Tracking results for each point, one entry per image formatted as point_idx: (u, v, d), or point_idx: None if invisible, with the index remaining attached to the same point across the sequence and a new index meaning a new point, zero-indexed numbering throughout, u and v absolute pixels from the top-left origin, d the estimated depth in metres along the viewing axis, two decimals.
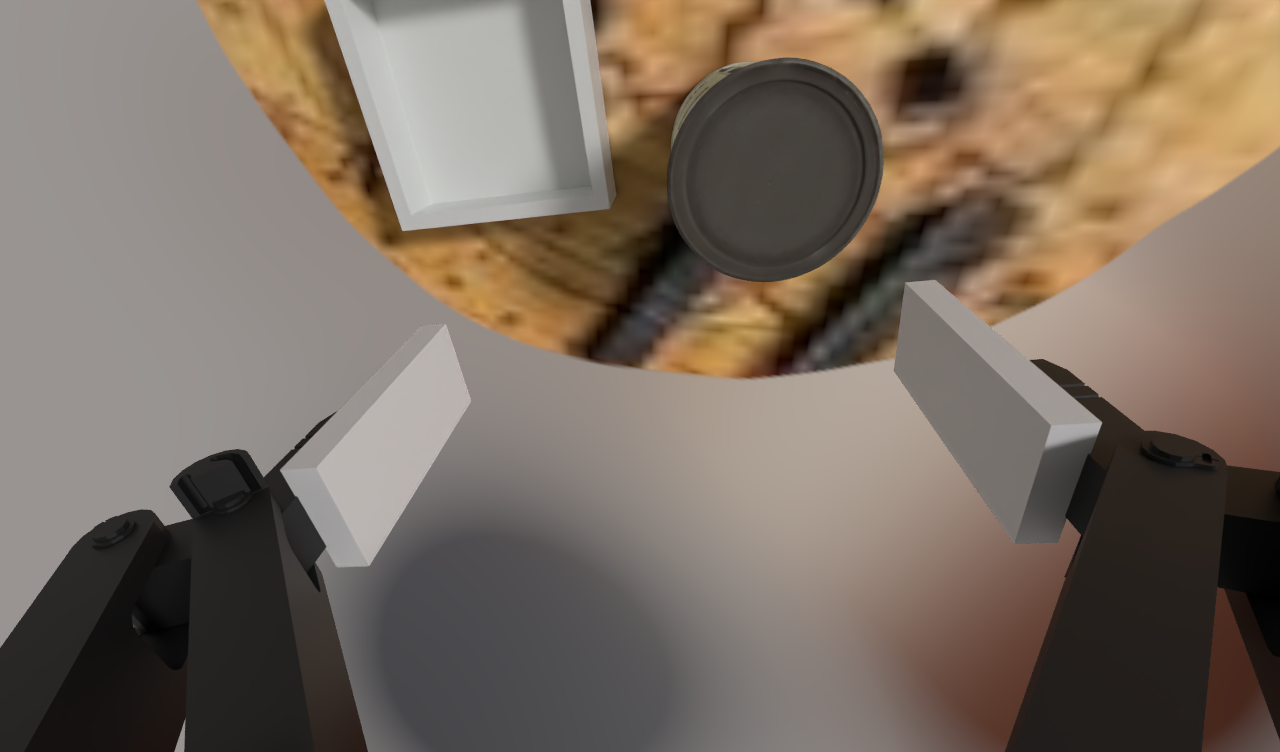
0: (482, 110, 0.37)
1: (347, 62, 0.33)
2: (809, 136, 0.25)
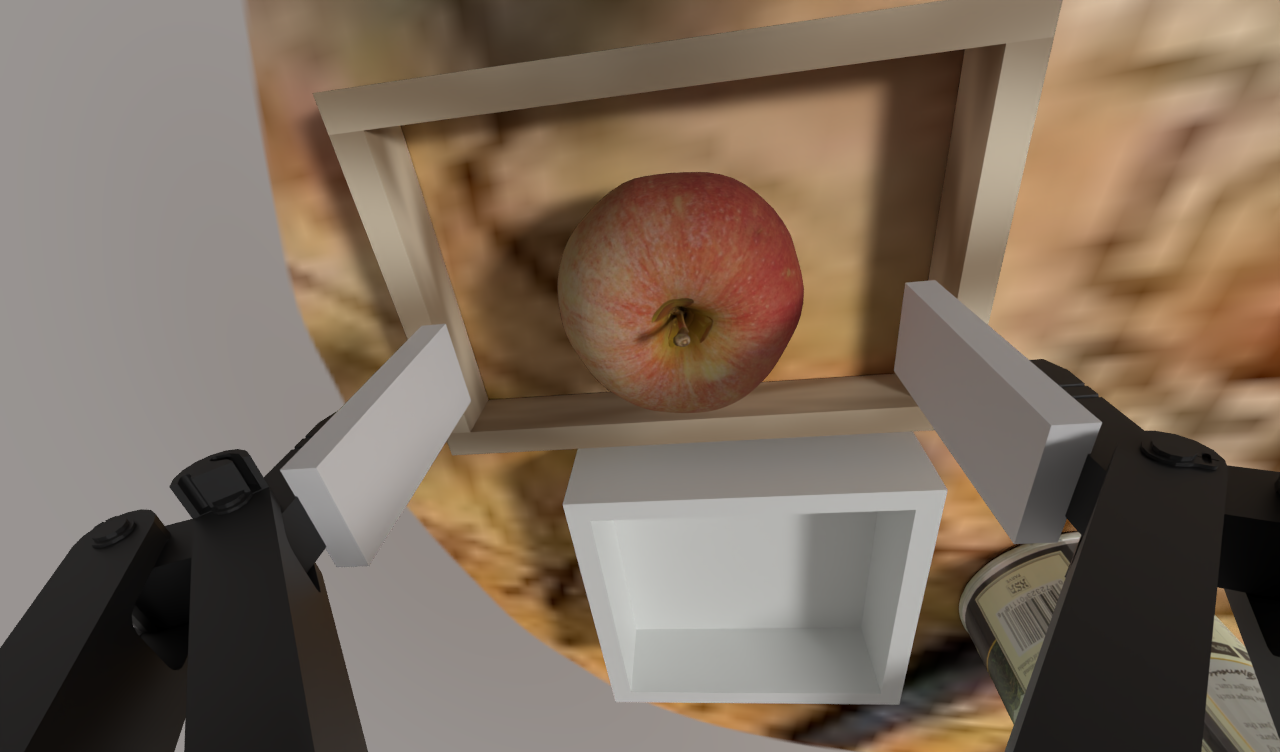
0: (726, 562, 0.29)
1: (584, 577, 0.25)
2: None
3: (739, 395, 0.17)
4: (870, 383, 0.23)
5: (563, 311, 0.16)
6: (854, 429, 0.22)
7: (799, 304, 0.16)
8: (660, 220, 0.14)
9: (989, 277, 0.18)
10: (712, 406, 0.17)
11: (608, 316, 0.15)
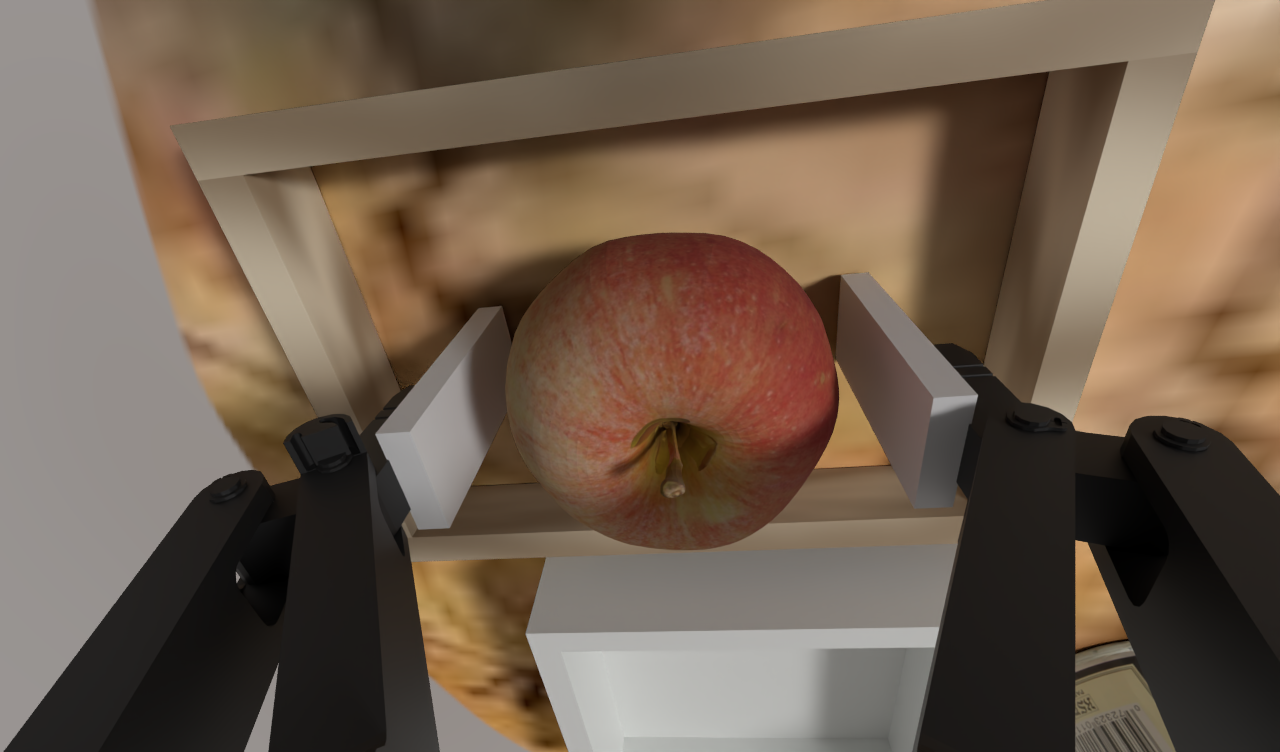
0: (729, 670, 0.24)
1: (556, 710, 0.20)
2: None
3: (752, 533, 0.12)
4: None
5: (510, 423, 0.12)
6: (893, 539, 0.17)
7: (835, 415, 0.12)
8: (642, 312, 0.10)
9: (1079, 365, 0.14)
10: (715, 547, 0.13)
11: (568, 444, 0.11)
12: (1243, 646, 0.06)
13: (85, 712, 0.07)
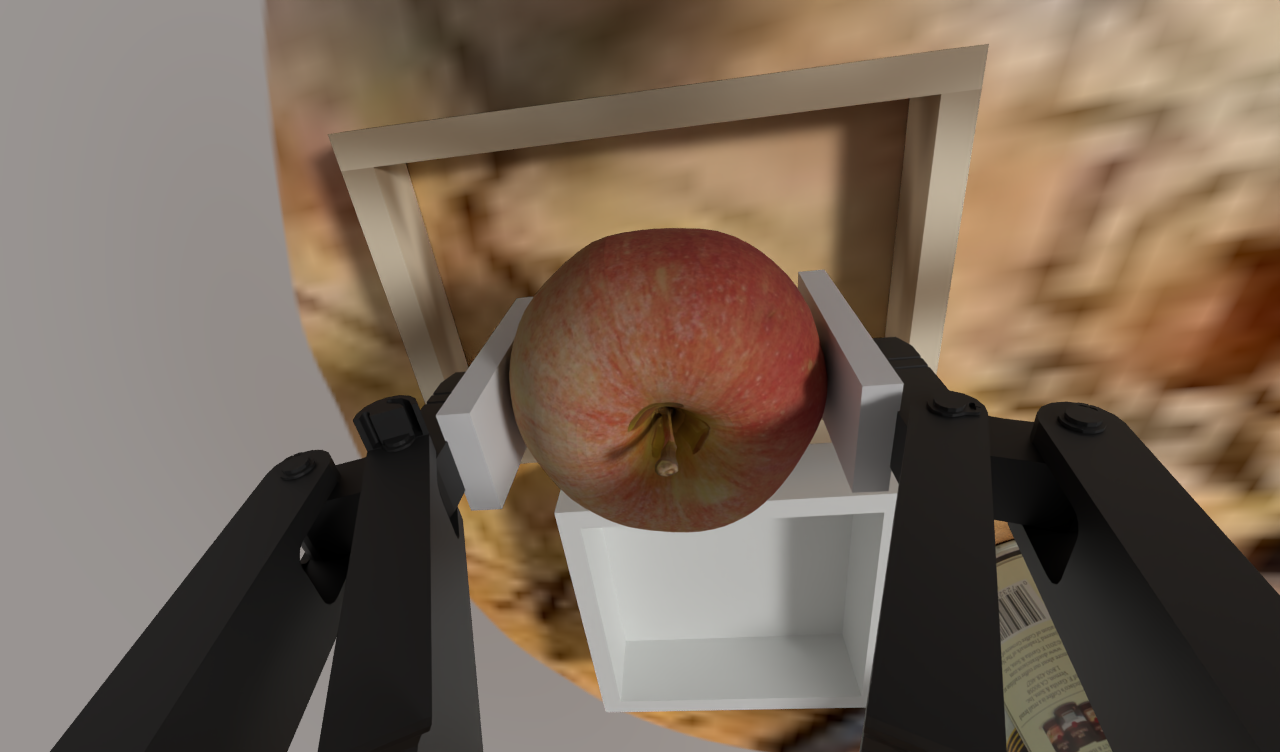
0: (711, 571, 0.30)
1: (575, 585, 0.26)
2: None
3: (745, 515, 0.13)
4: None
5: (514, 409, 0.13)
6: (826, 437, 0.23)
7: (823, 401, 0.12)
8: (637, 302, 0.11)
9: (940, 296, 0.20)
10: (710, 529, 0.13)
11: (569, 427, 0.11)
12: (1148, 616, 0.06)
13: (155, 678, 0.07)
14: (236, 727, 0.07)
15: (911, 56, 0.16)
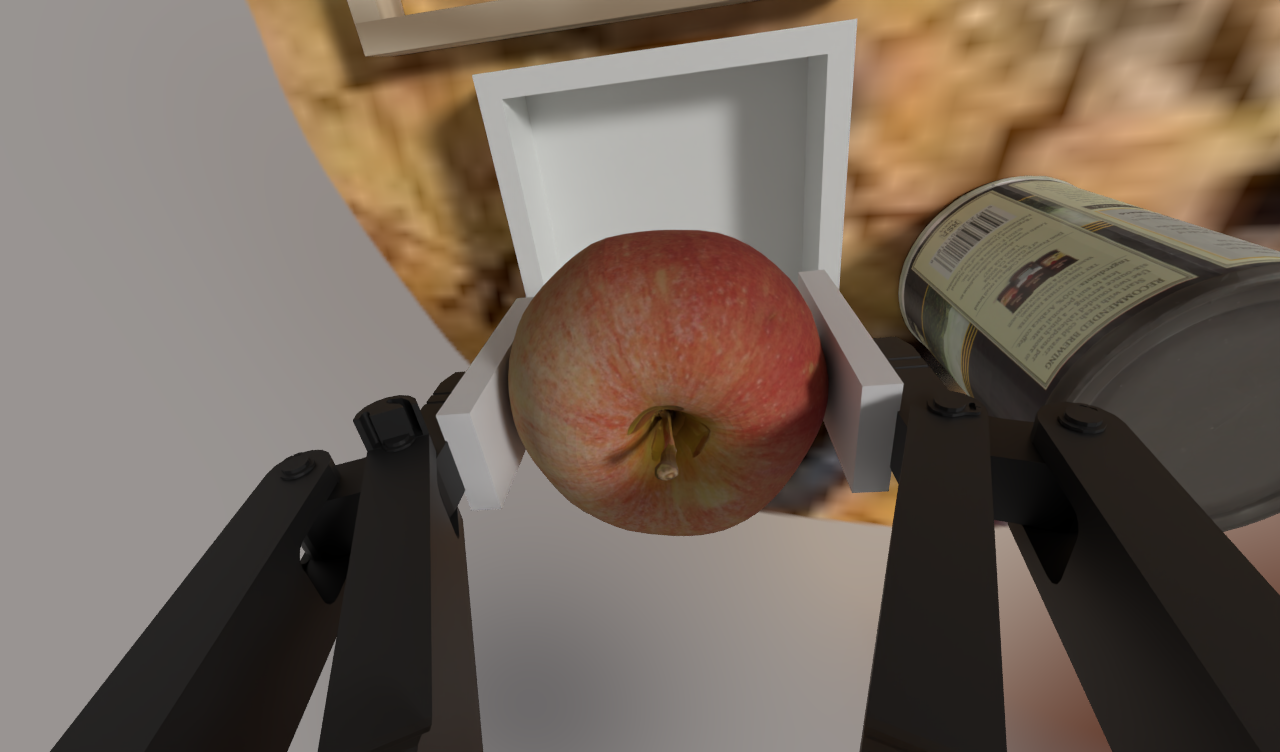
0: None
1: (503, 191, 0.24)
2: None
3: (745, 518, 0.13)
4: None
5: (513, 412, 0.12)
6: None
7: (824, 404, 0.12)
8: (636, 304, 0.10)
9: None
10: (710, 532, 0.13)
11: (567, 431, 0.11)
12: (1148, 616, 0.06)
13: (156, 678, 0.07)
14: (236, 727, 0.07)
15: None
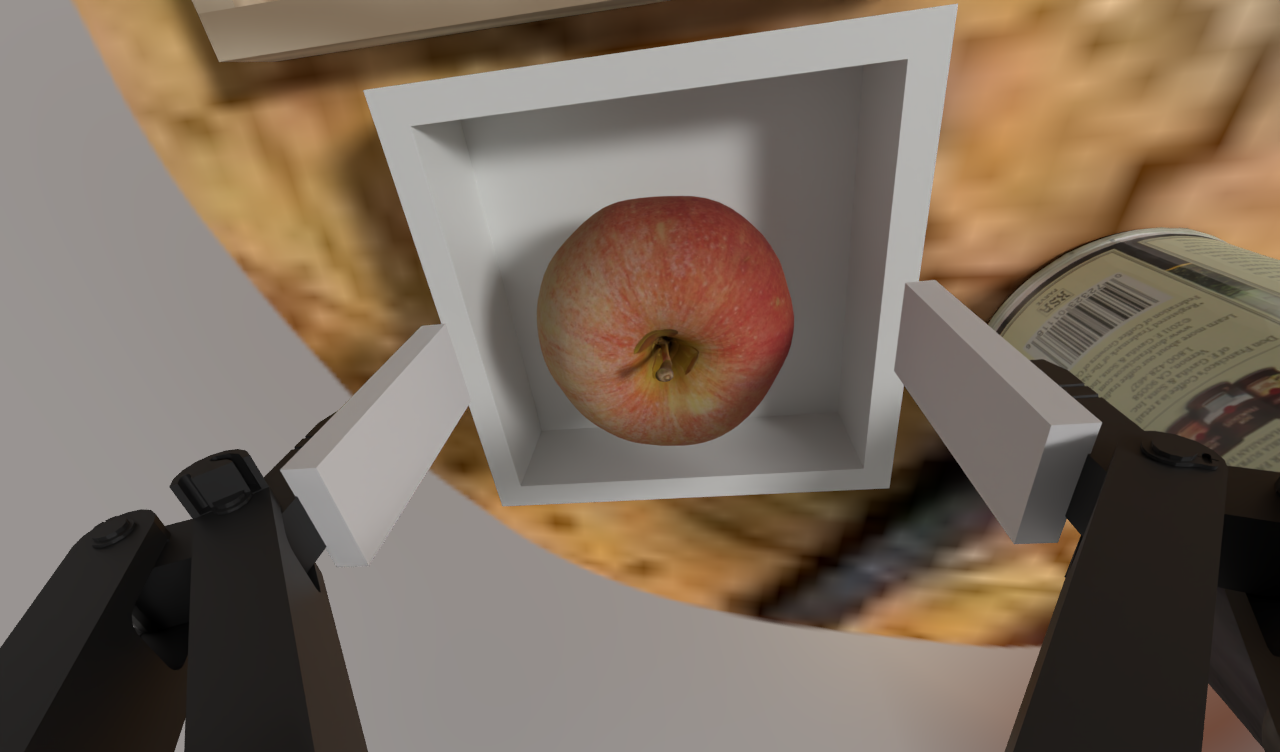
0: None
1: (422, 255, 0.17)
2: None
3: (727, 428, 0.16)
4: None
5: (542, 341, 0.16)
6: None
7: (789, 334, 0.15)
8: (642, 248, 0.14)
9: None
10: (699, 440, 0.16)
11: (587, 348, 0.14)
12: None
13: None
14: None
15: None
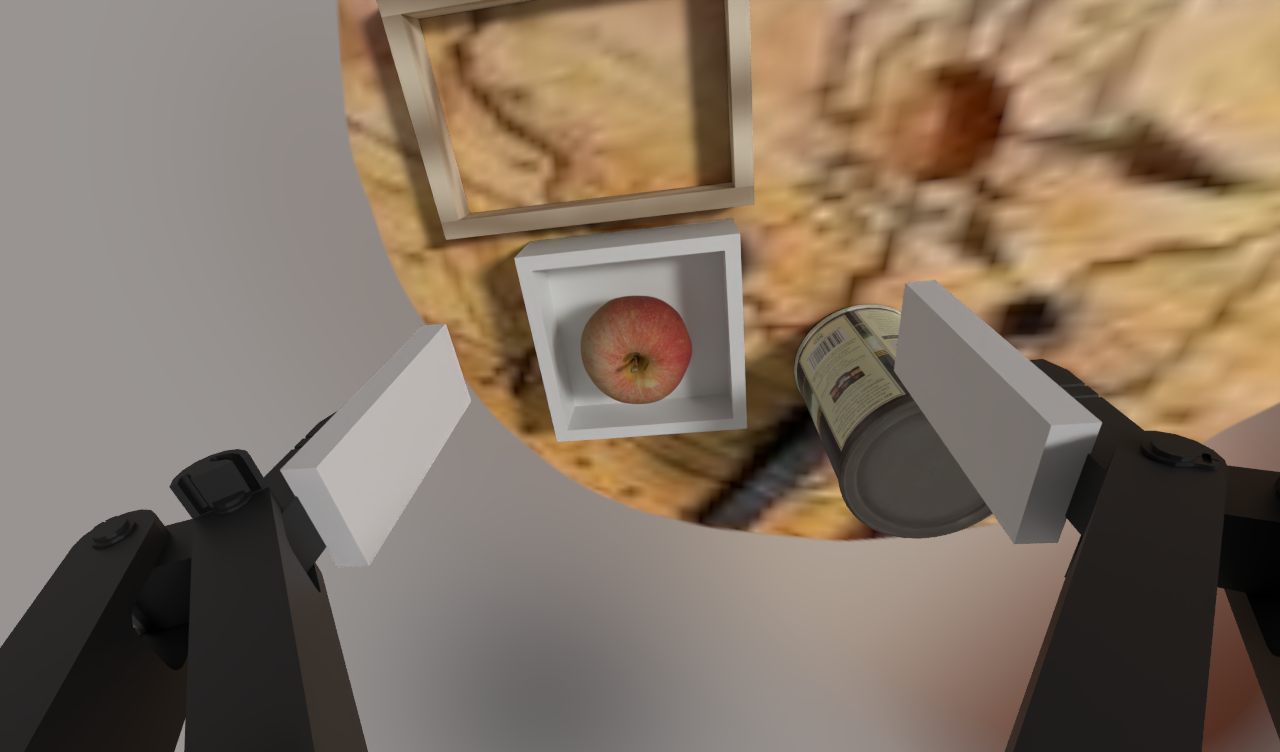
0: None
1: (530, 320, 0.38)
2: None
3: (663, 394, 0.37)
4: (703, 187, 0.37)
5: (583, 357, 0.37)
6: (690, 207, 0.36)
7: (687, 354, 0.37)
8: (625, 321, 0.35)
9: (747, 97, 0.33)
10: (651, 399, 0.38)
11: (603, 360, 0.36)
12: None
13: None
14: None
15: None
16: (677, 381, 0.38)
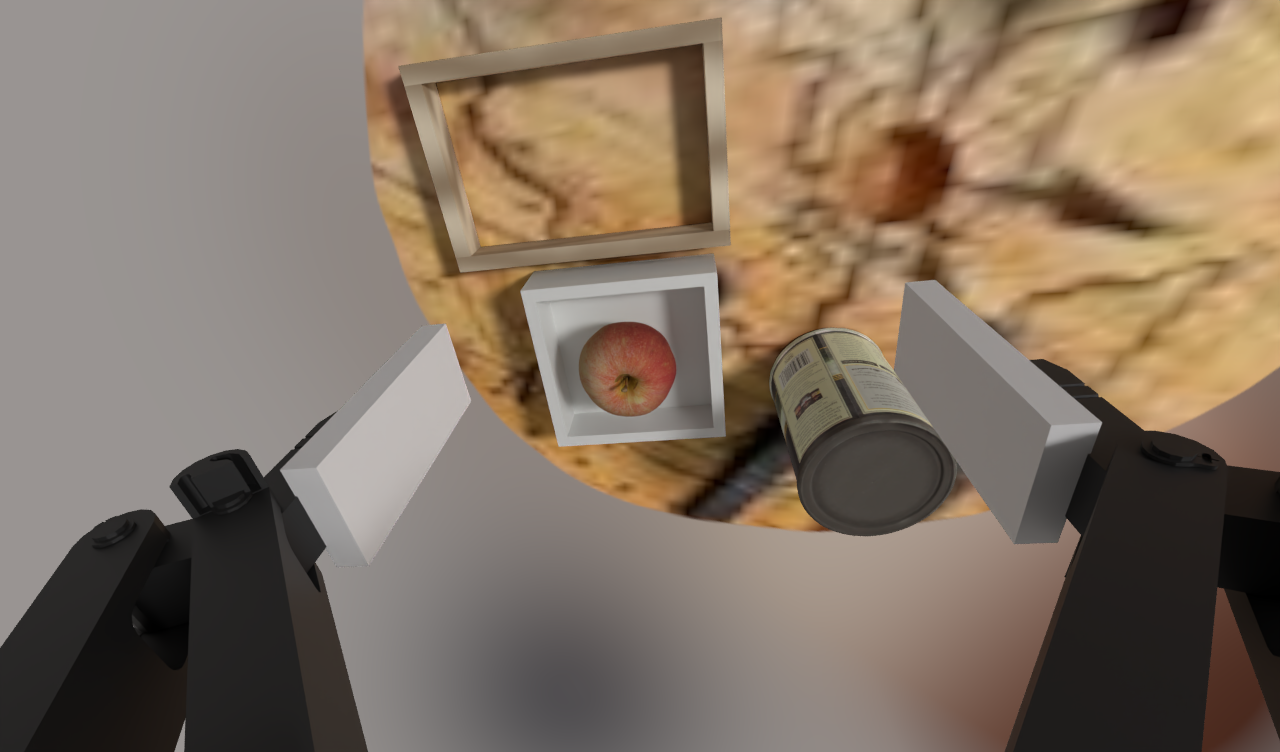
0: None
1: (534, 343, 0.43)
2: (904, 458, 0.35)
3: (650, 409, 0.43)
4: (687, 227, 0.42)
5: (581, 377, 0.42)
6: (674, 247, 0.41)
7: (671, 374, 0.42)
8: (617, 347, 0.41)
9: (722, 156, 0.37)
10: (640, 413, 0.43)
11: (598, 380, 0.41)
12: None
13: None
14: None
15: (685, 23, 0.34)
16: (663, 397, 0.43)
